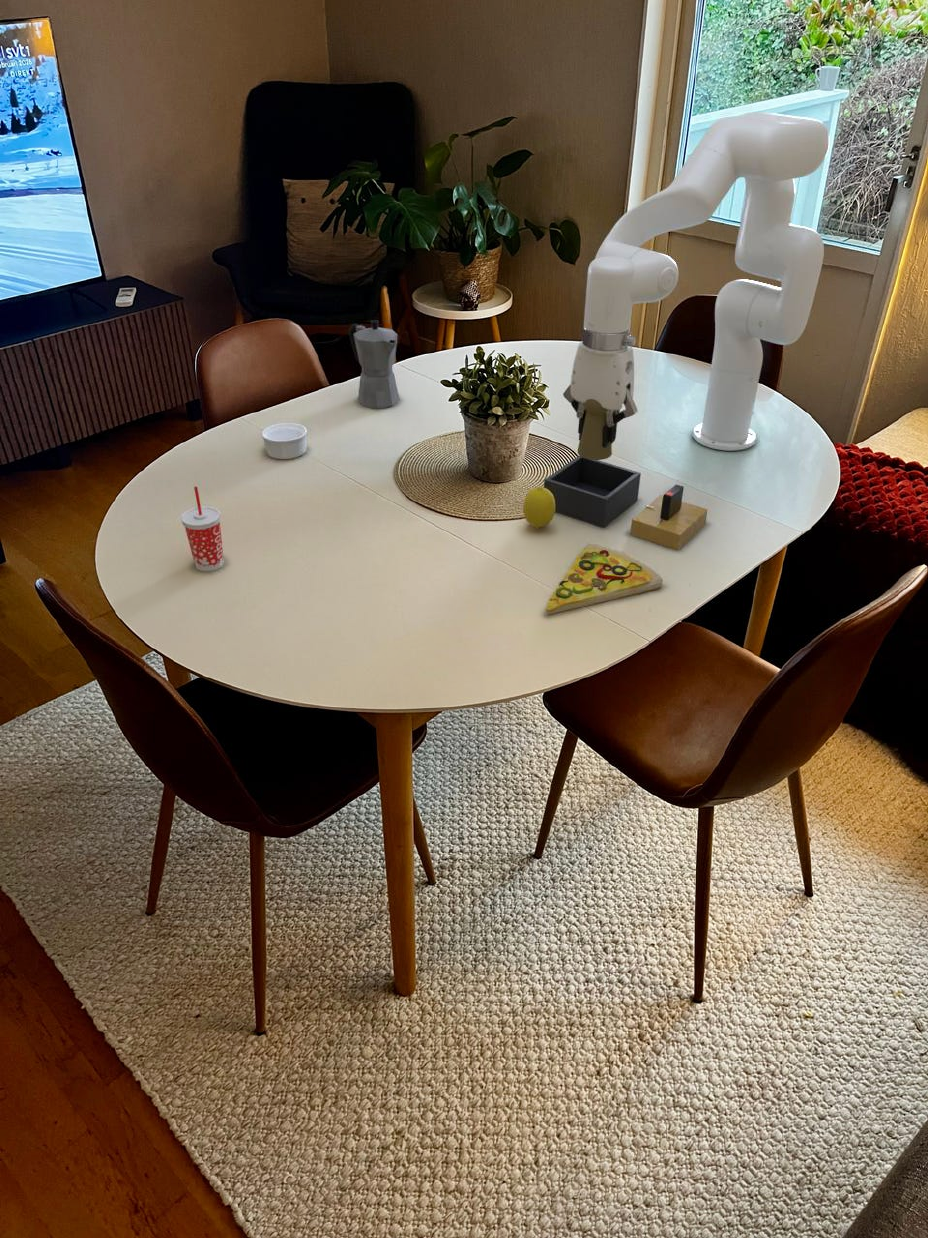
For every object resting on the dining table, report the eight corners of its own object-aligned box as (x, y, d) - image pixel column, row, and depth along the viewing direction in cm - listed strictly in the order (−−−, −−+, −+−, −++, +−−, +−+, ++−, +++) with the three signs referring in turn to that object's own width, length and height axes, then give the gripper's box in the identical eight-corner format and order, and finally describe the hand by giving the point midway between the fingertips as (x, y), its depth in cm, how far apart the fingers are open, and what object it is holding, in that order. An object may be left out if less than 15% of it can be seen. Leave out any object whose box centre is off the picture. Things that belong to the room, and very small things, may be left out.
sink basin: (578, 481, 180) (580, 454, 177) (637, 500, 174) (641, 472, 171) (542, 507, 172) (544, 479, 169) (603, 528, 166) (606, 499, 163)
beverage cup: (209, 577, 152) (195, 500, 144) (182, 566, 155) (166, 490, 147) (236, 560, 157) (224, 484, 149) (209, 550, 159) (195, 474, 151)
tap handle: (672, 506, 166) (676, 482, 163) (680, 509, 165) (684, 484, 163) (659, 518, 163) (663, 493, 160) (667, 520, 162) (671, 496, 159)
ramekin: (255, 456, 189) (252, 436, 186) (278, 439, 195) (276, 419, 193) (294, 464, 186) (292, 443, 183) (317, 446, 193) (315, 426, 190)
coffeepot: (414, 403, 211) (412, 322, 200) (381, 415, 205) (377, 332, 195) (369, 384, 220) (365, 306, 209) (337, 395, 214) (331, 315, 204)
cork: (610, 461, 164) (616, 401, 158) (575, 458, 165) (580, 397, 159) (613, 446, 169) (619, 387, 163) (579, 443, 170) (584, 384, 164)
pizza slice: (668, 584, 151) (671, 568, 150) (584, 637, 140) (586, 620, 138) (593, 547, 161) (594, 532, 159) (508, 594, 149) (508, 578, 147)
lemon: (557, 523, 167) (560, 482, 163) (549, 538, 163) (552, 496, 158) (527, 517, 169) (529, 477, 164) (518, 532, 165) (520, 491, 160)
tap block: (658, 509, 172) (660, 493, 170) (705, 524, 167) (708, 508, 165) (629, 534, 164) (631, 518, 162) (678, 550, 160) (680, 534, 158)
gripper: (662, 341, 154) (649, 446, 165) (573, 322, 162) (566, 422, 173) (640, 354, 149) (628, 461, 160) (550, 333, 157) (544, 436, 168)
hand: (596, 440), depth 166 cm, fingers closed on cork, 3 cm apart
